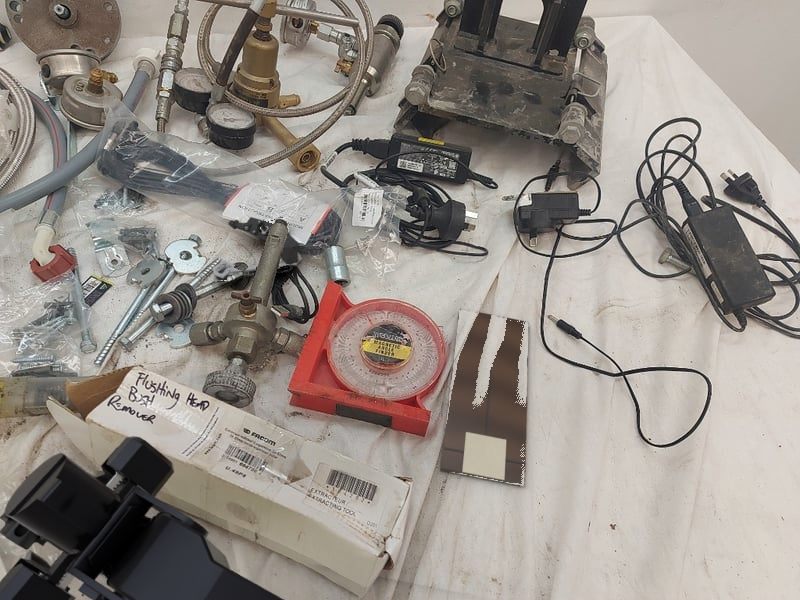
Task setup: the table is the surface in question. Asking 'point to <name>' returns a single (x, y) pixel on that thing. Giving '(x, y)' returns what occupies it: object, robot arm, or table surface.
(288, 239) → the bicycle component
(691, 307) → the table surface
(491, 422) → the board
